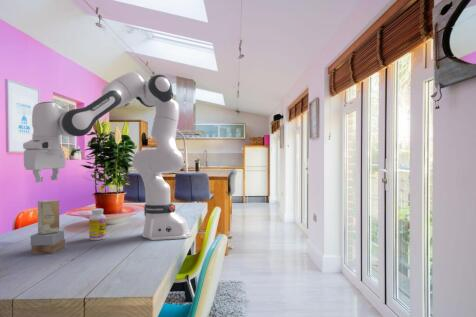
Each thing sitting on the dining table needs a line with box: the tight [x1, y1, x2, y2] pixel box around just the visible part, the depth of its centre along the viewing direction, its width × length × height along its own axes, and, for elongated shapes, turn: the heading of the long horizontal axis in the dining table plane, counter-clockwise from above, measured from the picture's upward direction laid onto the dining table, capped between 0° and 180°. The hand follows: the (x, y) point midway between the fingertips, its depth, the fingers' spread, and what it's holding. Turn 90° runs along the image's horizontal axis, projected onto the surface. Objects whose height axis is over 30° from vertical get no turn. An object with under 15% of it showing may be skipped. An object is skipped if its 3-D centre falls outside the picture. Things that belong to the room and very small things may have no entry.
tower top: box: [30, 230, 65, 246], centre depth 122 cm, size 8×8×4 cm
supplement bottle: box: [88, 208, 107, 241], centre depth 139 cm, size 7×7×13 cm
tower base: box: [31, 238, 66, 255], centre depth 122 cm, size 8×8×4 cm
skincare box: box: [37, 199, 60, 234], centre depth 123 cm, size 6×4×12 cm
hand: (46, 181), depth 122 cm, fingers open, 8 cm apart
